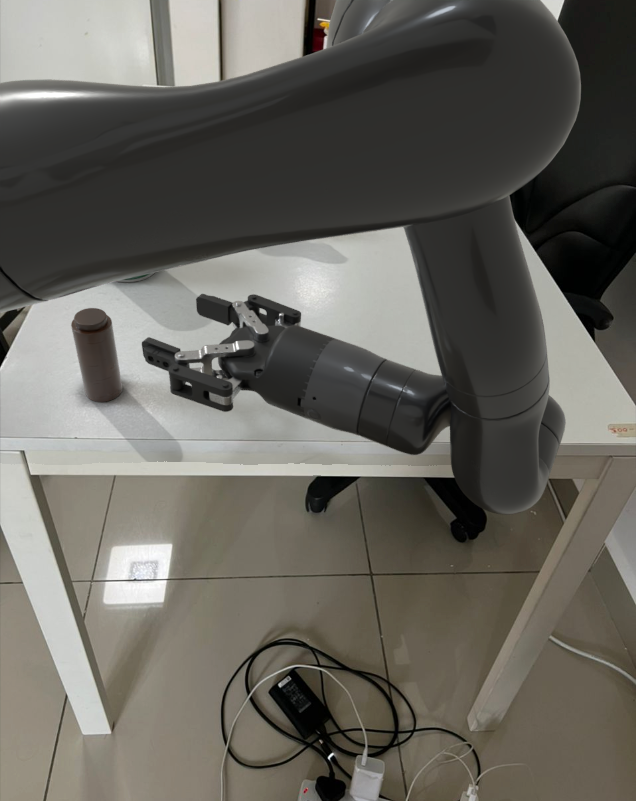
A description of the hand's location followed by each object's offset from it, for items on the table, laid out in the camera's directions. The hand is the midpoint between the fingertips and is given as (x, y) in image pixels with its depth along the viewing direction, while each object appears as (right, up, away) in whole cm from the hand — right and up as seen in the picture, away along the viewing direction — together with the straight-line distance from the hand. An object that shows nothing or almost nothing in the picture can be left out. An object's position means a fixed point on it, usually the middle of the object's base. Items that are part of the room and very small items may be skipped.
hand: (172, 324), depth 61 cm
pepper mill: (-10, -6, +11) cm, 16 cm away
